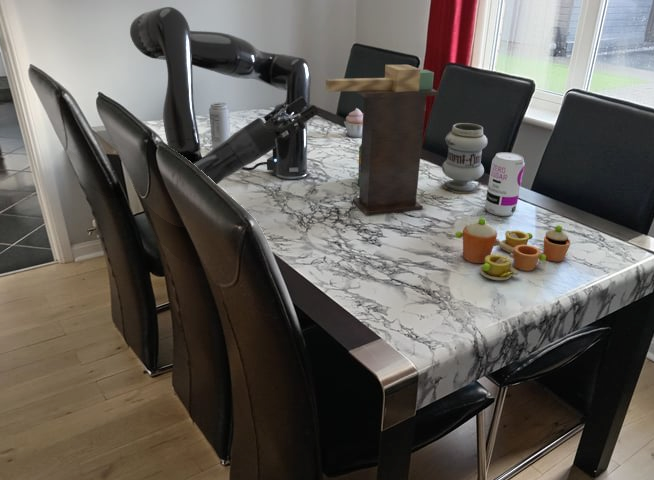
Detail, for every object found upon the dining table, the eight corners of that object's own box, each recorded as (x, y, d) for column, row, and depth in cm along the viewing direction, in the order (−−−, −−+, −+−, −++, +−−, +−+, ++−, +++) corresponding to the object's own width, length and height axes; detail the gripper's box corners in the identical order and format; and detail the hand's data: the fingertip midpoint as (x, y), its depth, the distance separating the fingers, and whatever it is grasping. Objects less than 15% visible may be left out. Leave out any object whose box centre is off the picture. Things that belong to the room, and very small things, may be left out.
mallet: (332, 93, 130) (332, 70, 128) (322, 87, 136) (322, 65, 133) (418, 91, 138) (420, 69, 136) (405, 85, 144) (407, 64, 141)
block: (417, 90, 139) (419, 72, 137) (410, 86, 143) (411, 69, 141) (432, 89, 141) (434, 72, 139) (424, 86, 144) (426, 69, 142)
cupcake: (353, 130, 220) (354, 104, 215) (373, 135, 216) (374, 108, 211) (338, 135, 214) (338, 107, 209) (358, 140, 209) (359, 112, 204)
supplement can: (516, 208, 157) (527, 154, 150) (513, 219, 150) (523, 162, 143) (487, 203, 159) (495, 150, 152) (482, 213, 152) (491, 158, 145)
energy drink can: (234, 152, 188) (231, 105, 181) (216, 154, 185) (212, 106, 178) (227, 147, 192) (223, 101, 185) (209, 149, 189) (205, 102, 182)
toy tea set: (492, 287, 117) (500, 244, 112) (444, 256, 128) (450, 216, 124) (578, 262, 130) (589, 222, 125) (528, 236, 141) (536, 198, 136)
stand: (361, 216, 146) (367, 94, 132) (347, 202, 154) (351, 85, 140) (427, 208, 153) (440, 92, 139) (410, 195, 161) (420, 84, 147)
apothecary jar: (431, 186, 169) (438, 124, 160) (455, 178, 177) (463, 118, 168) (465, 198, 162) (474, 134, 153) (488, 188, 170) (498, 127, 161)
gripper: (249, 137, 124) (312, 96, 125) (236, 121, 135) (293, 83, 136) (267, 165, 128) (328, 125, 129) (253, 147, 140) (308, 111, 141)
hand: (310, 104), depth 133 cm, fingers open, 8 cm apart
